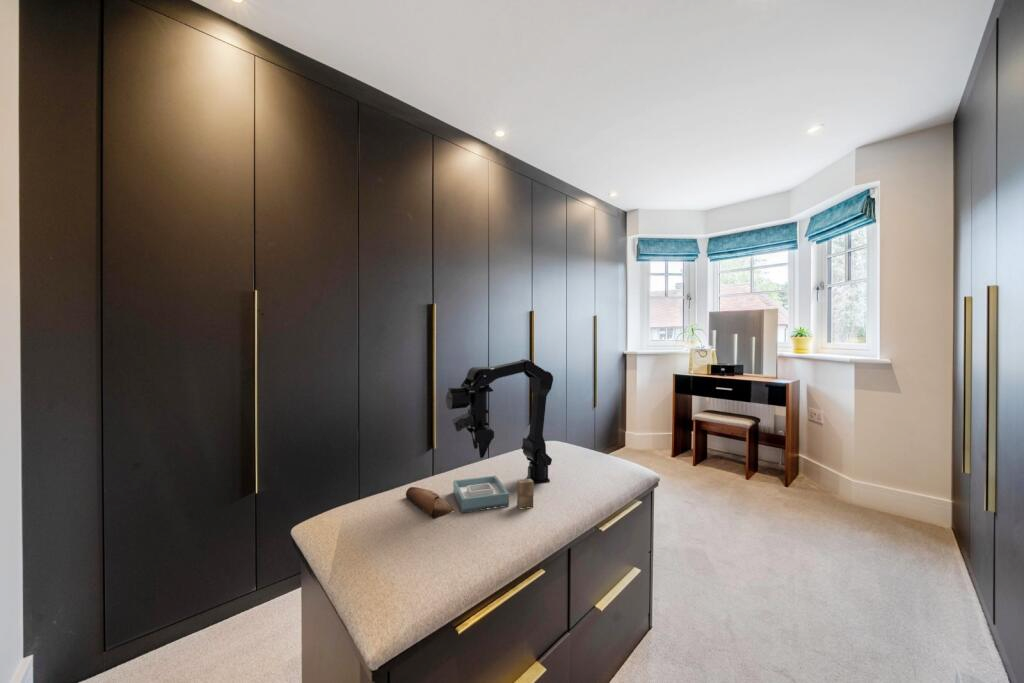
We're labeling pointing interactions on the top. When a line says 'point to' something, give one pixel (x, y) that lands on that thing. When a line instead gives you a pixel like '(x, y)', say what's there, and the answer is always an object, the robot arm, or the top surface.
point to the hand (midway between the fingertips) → (478, 453)
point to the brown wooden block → (525, 493)
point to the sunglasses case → (429, 502)
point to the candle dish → (480, 493)
